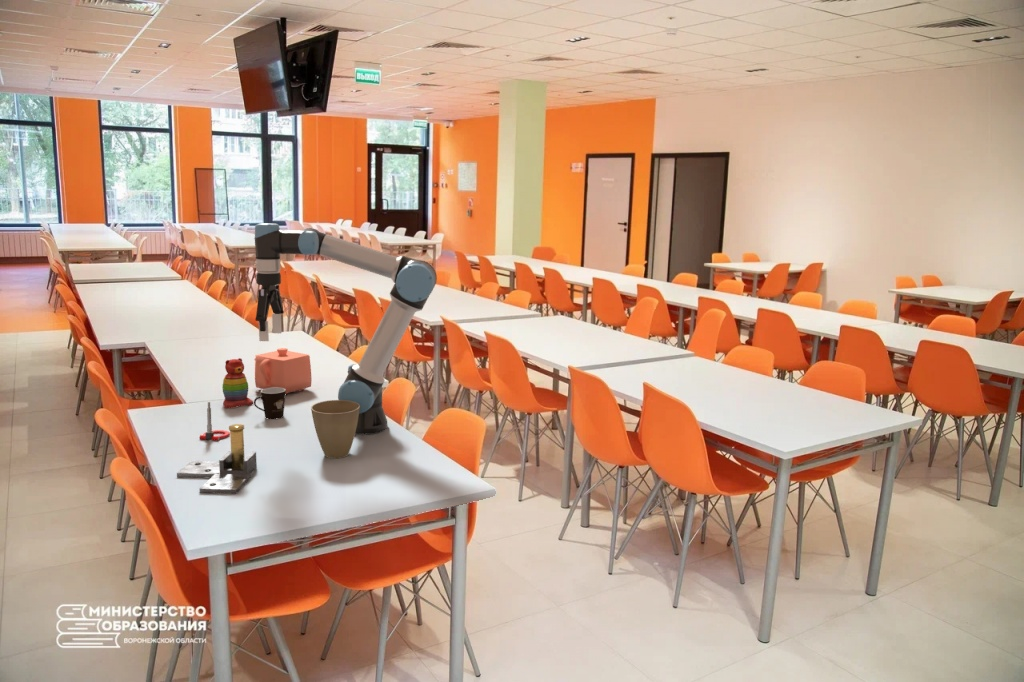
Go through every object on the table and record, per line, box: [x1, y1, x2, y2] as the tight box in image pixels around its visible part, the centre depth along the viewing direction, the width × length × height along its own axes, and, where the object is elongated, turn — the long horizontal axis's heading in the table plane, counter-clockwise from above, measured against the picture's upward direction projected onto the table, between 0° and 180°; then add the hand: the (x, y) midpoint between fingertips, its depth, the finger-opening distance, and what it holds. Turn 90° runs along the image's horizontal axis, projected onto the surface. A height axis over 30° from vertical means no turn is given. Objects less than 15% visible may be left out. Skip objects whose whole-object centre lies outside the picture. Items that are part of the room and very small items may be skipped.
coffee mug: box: [253, 387, 286, 420], centre depth 276 cm, size 12×9×10 cm
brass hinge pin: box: [228, 423, 246, 469], centre depth 222 cm, size 4×4×14 cm
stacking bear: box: [222, 357, 254, 409], centre depth 291 cm, size 11×10×18 cm
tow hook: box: [199, 401, 230, 442], centre depth 254 cm, size 8×13×9 cm
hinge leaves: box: [176, 450, 258, 495], centre depth 217 cm, size 21×21×5 cm
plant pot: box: [310, 399, 360, 459], centre depth 238 cm, size 15×15×16 cm
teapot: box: [254, 347, 312, 395], centre depth 314 cm, size 25×23×18 cm
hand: (270, 337), depth 247 cm, fingers open, 13 cm apart
